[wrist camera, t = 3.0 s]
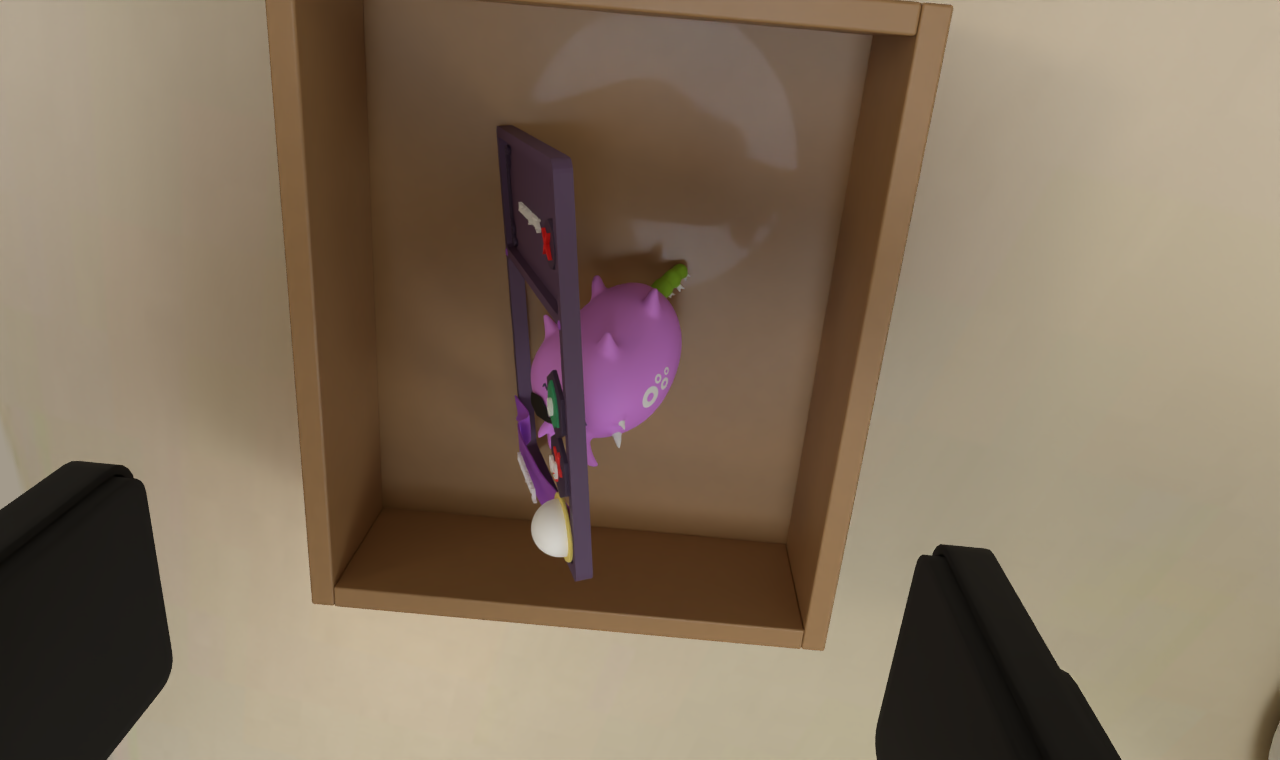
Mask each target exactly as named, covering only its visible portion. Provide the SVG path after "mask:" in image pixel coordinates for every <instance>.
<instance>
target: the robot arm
mask: <svg viewBox="0 0 1280 760" xmlns="http://www.w3.org/2000/svg"><path fill="white" fill-rule="evenodd" d="M172 662H173V657H172V649H171V642H170V636H169V630H168V624H167V618H166V612H165V605H164V599H163V593H162V587H161V581H160V575H159V569H158V562H157V556H156V550H155V544H154V538H153V532H152V525H151V519H150V513H149V507H148V501H147V495H146V490H145V487H144V485H143V483H142V482H141V481H140V480H138V479H134V478H133V474H132V473H131V472H130V470H129V469H128V468H126V467H125V466H123V465H114V464H103V463H93V462H83V461H71V462H69V463H67V464H65V465H63V466H62V467H60V468H59V469H58V470H56V471H55V472H53V473H52V474H51V475H49V476H48V477H46V478H45V479H43V480H42V481H41V482H39V483H38V484H36V485H35V486H34V487H32V488H31V489H29V490H28V491H26V492H25V493H24V494H22V495H21V496H19V497H18V498H17V499H15V500H14V501H12V502H11V503H9V504H8V505H7V506H5V507H4V508H2V509H1V510H0V760H107V758H108V757H109V756H110V755H111V753H112V752H113V751H114V750H115V748H116V747H117V746H118V745H119V743H120V742H121V741H122V740H123V738H124V737H125V736H126V734H127V733H128V732H129V731H130V729H131V728H132V727H133V726H134V724H135V723H136V722H137V721H138V719H139V718H140V717H141V715H142V714H143V713H144V712H145V710H146V709H147V708H148V707H149V705H150V704H151V703H152V702H153V700H154V699H155V698H156V697H157V695H158V694H159V693H160V691H161V690H162V689H163V687H164V686H165V684H166V682H167V680H168V678H169V676H170V672H171V669H172ZM875 746H876V756H877V760H1121V758H1120V756H1119V755H1118V753H1117V751H1116V750H1115V748H1114V746H1113V744H1112V743H1111V741H1110V739H1109V738H1108V736H1107V734H1106V733H1105V731H1104V729H1103V728H1102V726H1101V724H1100V722H1099V721H1098V719H1097V717H1096V716H1095V714H1094V712H1093V711H1092V709H1091V707H1090V706H1089V704H1088V702H1087V700H1086V699H1085V697H1084V695H1083V694H1082V692H1081V690H1080V689H1079V687H1078V685H1077V684H1076V682H1075V681H1074V680H1073V679H1072V677H1071V676H1070V675H1069V673H1067V672H1065V671H1063V670H1061V669H1060V668H1059V666H1058V665H1057V663H1056V661H1055V659H1054V658H1053V656H1052V654H1051V653H1050V651H1049V649H1048V647H1047V646H1046V644H1045V642H1044V640H1043V639H1042V637H1041V635H1040V634H1039V632H1038V630H1037V628H1036V627H1035V625H1034V623H1033V621H1032V620H1031V618H1030V616H1029V615H1028V613H1027V611H1026V609H1025V608H1024V606H1023V604H1022V602H1021V601H1020V599H1019V597H1018V596H1017V594H1016V592H1015V590H1014V589H1013V587H1012V585H1011V583H1010V582H1009V580H1008V578H1007V577H1006V575H1005V573H1004V571H1003V570H1002V568H1001V566H1000V564H999V563H998V561H997V559H996V558H995V556H994V554H993V553H992V552H991V551H990V550H988V549H984V548H974V547H963V546H953V545H943V544H940V545H939V546H937V547H936V549H935V550H934V552H933V555H932V556H930V555H921V556H920V557H919V559H918V561H917V564H916V567H915V571H914V575H913V579H912V583H911V587H910V591H909V595H908V600H907V604H906V608H905V612H904V616H903V620H902V624H901V628H900V632H899V637H898V641H897V645H896V649H895V653H894V657H893V661H892V665H891V669H890V673H889V678H888V682H887V686H886V690H885V694H884V698H883V702H882V706H881V710H880V715H879V719H878V723H877V728H876V737H875Z"/></svg>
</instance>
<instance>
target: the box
mask: <svg viewBox="0 0 1280 760" xmlns="http://www.w3.org/2000/svg"><path fill="white" fill-rule="evenodd" d="M265 2H266V15H267V27H268V40H269V53H270V66H271V79H272V92H273V104H274V117H275V130H276V143H277V156H278V169H279V181H280V194H281V207H282V220H283V233H284V246H285V259H286V271H287V284H288V297H289V310H290V323H291V336H292V348H293V361H294V374H295V387H296V400H297V413H298V426H299V438H300V451H301V464H302V477H303V490H304V503H305V515H306V528H307V541H308V554H309V567H310V580H311V592H312V602H313V603H314V604H322V605H334V604H335V605H336V606H340V607H351V608H362V609H373V610H384V611H395V612H405V613H416V614H427V615H438V616H449V617H460V618H471V619H481V620H492V621H503V622H514V623H525V624H536V625H547V626H558V627H568V628H579V629H590V630H601V631H612V632H623V633H634V634H644V635H655V636H666V637H677V638H688V639H699V640H710V641H721V642H731V643H742V644H753V645H764V646H775V647H786V648H797V649H800V648H801V647H802V649H809V650H820V651H823V650H824V648H825V643H826V638H827V633H828V628H829V623H830V618H831V613H832V608H833V603H834V598H835V593H836V588H837V584H838V579H839V574H840V569H841V564H842V559H843V554H844V549H845V544H846V539H847V534H848V529H849V524H850V519H851V514H852V509H853V504H854V499H855V494H856V489H857V484H858V479H859V474H860V469H861V464H862V459H863V454H864V449H865V444H866V439H867V435H868V430H869V425H870V420H871V415H872V410H873V405H874V400H875V395H876V390H877V385H878V380H879V375H880V370H881V365H882V360H883V355H884V350H885V345H886V340H887V335H888V330H889V325H890V320H891V315H892V310H893V305H894V300H895V295H896V290H897V285H898V281H899V276H900V271H901V266H902V261H903V256H904V251H905V246H906V241H907V236H908V231H909V226H910V221H911V216H912V211H913V206H914V201H915V196H916V191H917V186H918V181H919V176H920V171H921V166H922V161H923V156H924V151H925V146H926V141H927V136H928V132H929V127H930V122H931V117H932V112H933V107H934V102H935V97H936V92H937V87H938V82H939V77H940V72H941V67H942V62H943V57H944V52H945V47H946V42H947V37H948V32H949V27H950V22H951V17H952V12H953V6H952V5H947V4H936V3H919V2H912V1H901V0H265ZM505 125H513V126H515V127H517V128H519V129H520V130H522V131H524V132H526V133H528V134H529V135H531V136H533V137H535V138H537V139H538V140H540V141H542V142H544V143H546V144H547V145H549V146H551V147H553V148H555V149H557V150H558V151H560V152H562V153H564V154H566V155H567V156H569V157H570V158H571V161H572V165H573V177H574V198H575V218H576V239H577V259H578V280H579V300H580V310H581V309H582V308H583V307H584V306H586V305H587V304H588V303H589V302H590V300H591V296H592V280H593V278H594V276H596V275H598V276H600V277H601V279H602V281H603V283H604V285H605V287H606V288H611V287H613V286H616V285H620V284H624V283H642V284H646V285H648V286H651V285H652V284H653V283H654V282H655V281H656V280H657V279H659V278H661V277H662V276H663V275H664V274H665V273H666V271H668V270H670V269H672V268H673V267H674V266H675V265H676V264H683V265H685V266H686V267H687V270H688V274H689V275H690V277H687V280H685V279H684V278H683V279H682V280H681V282H680V284H681V286H682V287H684V288H685V289H681V292H679V291H678V289H677V288H674V289H673V291H672V292H673V293H674V294H675V295H672V296H671V297H672V298H669V297H667V300H668V301H669V302H670V304H671V305H672V307H673V308H674V310H675V312H676V315H677V317H678V320H679V324H680V329H681V337H682V347H681V356H680V361H679V365H678V369H677V372H676V375H675V378H674V380H673V383H672V385H671V387H670V389H669V391H668V393H667V395H666V396H665V398H664V400H663V401H662V403H661V404H660V406H659V407H658V408H657V409H656V410H655V411H654V413H653V414H652V415H651V416H650V417H648V418H647V419H646V420H645V421H644V422H642V423H641V424H639V425H638V426H636V427H635V428H633V429H631V430H629V431H627V432H624V433H622V435H621V445H620V448H618V447H617V445H616V443H615V440H614V438H613V436H610V437H605V438H593V439H592V440H591V442H590V445H591V450H592V453H593V456H594V458H595V460H596V461H597V463H598V466H595V467H593V466H589V465H588V484H589V505H590V525H591V546H592V566H593V578H591V579H586V580H581V581H576V582H575V581H574V578H573V576H572V574H571V571H570V569H569V566H568V564H567V562H566V561H565V559H564V557H554V556H550V555H548V554H546V553H544V552H543V551H541V550H540V549H539V548H538V546H537V545H536V544H535V542H534V540H533V537H532V533H531V523H532V519H533V516H534V514H535V513H536V511H537V510H538V508H539V507H540V506H541V504H540V502H539V500H538V498H537V496H536V500H537V503H535V504H534V503H533V501H532V498H531V497H532V493H530V490H529V488H528V485H527V483H525V480H526V479H525V477H524V475H523V472H522V470H521V467H520V466H521V465H519V462H518V460H517V458H518V454H517V452H520V449H519V437H518V421H517V420H516V417H517V415H518V412H517V406H516V401H515V395H516V396H517V397H518V394H517V381H516V369H515V357H514V344H513V332H512V319H511V307H510V295H509V282H508V270H507V257H506V245H505V233H504V220H503V208H502V195H501V183H500V171H499V158H498V146H497V133H496V129H497V126H505ZM525 292H526V305H527V319H528V333H529V346H530V360H531V367H532V363H533V360H534V357H535V355H536V353H537V351H538V349H539V348H540V346H541V344H542V343H543V341H544V339H545V326H544V315H548V316H549V317H550V318H551V319H552V317H551V316H550V314H549V313H548V311H547V310H546V309H545V307H544V306H543V304H542V303H541V302H540V300H539V299H538V297H537V296H536V295H535V293H534V292H533V290H532V289H531V287H530V286H529V285H528V283H527V282H526V280H525ZM552 320H553V319H552ZM553 321H554V320H553ZM554 322H555V321H554ZM534 415H535V428H536V441H537V445H538V447H539V449H540V452H541V454H542V456H543V458H544V460H545V463H546V465H547V467H548V469H549V471H550V474H551V476H552V478H553V472H552V473H551V470H550V463H549V455H552V451H551V449H550V447H549V445H548V437H547V434H545V435H544V436H542V437H540V438H539V437H538V431H539V429H540V427H541V425H542V424H543V423H544V420H543V419H541V418H540V417H538V416H537V415H536V413H535V411H534ZM562 440H563V444H564V448H565V451H566V438H565V436H564V437H562ZM553 480H554V479H553ZM554 483H555V485H556V487H557V484H556V481H555V480H554ZM557 489H558V488H557ZM564 500H565V502H566V503H567V505H568V506H569V497H564ZM569 507H570V506H569Z"/></svg>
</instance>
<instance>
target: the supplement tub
mask: <svg viewBox="0 0 1280 760" xmlns="http://www.w3.org/2000/svg"><path fill="white" fill-rule="evenodd" d="M1268 760H1280V722H1279V725H1278V727H1277V729H1276V732H1275V734H1274V737H1273V740H1272V744H1271V748H1270V752H1269V758H1268Z"/></svg>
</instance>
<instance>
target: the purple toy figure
mask: <svg viewBox="0 0 1280 760" xmlns="http://www.w3.org/2000/svg"><path fill="white" fill-rule="evenodd" d="M496 133H497V146H498V158H499V171H500V183H501V195H502V208H503V220H504V233H505V245H506V257H507V270H508V282H509V295H510V307H511V319H512V332H513V344H514V357H515V369H516V381H517V394H518V397H517V396H516V395H515V401H516V406H517V412H518V415H517V417H516V420H517V421H518V437H519V449H520V452H517V454H518V458H517V460H518V462H519V465H521V466H520V467H521V470H522V472H523V475H524V477H525V479H526V480H525V483H527V485H528V488H529V490H530V493H532V497H531V498H532V501H533V503H534V504H535V503H537V500H536V496H537V498H538V500H539V502H540V504H541V506H540V507H539V508H538V510H537V511H536V513H535V514H534V516H533V519H532V523H531V533H532V537H533V540H534V542H535V544H536V545H537V546H538V548H539V549H540V550H541V551H543V552H544V553H546V554H548V555H550V556H554V557H564V559H565V561H566V562H567V564H568V566H569V569H570V571H571V574H572V576H573V578H574V581H575V582H576V581H581V580H586V579H591V578H593V566H592V546H591V525H590V505H589V484H588V465H589V466H593V467H595V466H598V463H597V461H596V460H595V458H594V456H593V453H592V450H591V445H590V442H591V440H592V439H593V438H605V437H610V436H613V438H614V440H615V443H616V445H617V447H618V448H620V445H621V435H622V433H624V432H627V431H629V430H631V429H633V428H635V427H636V426H638V425H639V424H641V423H642V422H644V421H645V420H646V419H647V418H648V417H650V416H651V415H652V414H653V413H654V411H655V410H656V409H657V408H658V407H659V406H660V404H661V403H662V401H663V400H664V398H665V396H666V395H667V393H668V391H669V389H670V387H671V385H672V383H673V380H674V378H675V375H676V372H677V369H678V365H679V361H680V356H681V347H682V337H681V329H680V324H679V320H678V317H677V315H676V312H675V310H674V308H673V307H672V305H671V304H670V302H669V301H668V300H667V297H669V298H672V297H671V296H672V295H675V294H674V293H673V292H672V291H673V289H674V288H677V289H678V291H679V292H681V289H685V288H684V287H682V286H681V284H680V282H681V280H682V279H683V278H684V279H685V280H687V277H690V275H689V274H688V270H687V267H686V266H685V265H683V264H676V265H675V266H674V267H673V268H672V269H670V270H668V271H666V273H665V274H664V275H663V276H662V277H661V278H659V279H657V280H656V281H655V282H654V283H653V284H652V285H651V286H648V285H646V284H642V283H624V284H620V285H616V286H613V287H611V288H606V287H605V285H604V283H603V281H602V279H601V277H600V276H598V275H596V276H594V278H593V280H592V296H591V300H590V302H589V303H588V304H587V305H586V306H584V307H583V308H582V309H581V310H580V300H579V280H578V259H577V239H576V218H575V198H574V177H573V165H572V161H571V158H570V157H569V156H567V155H566V154H564V153H562V152H560V151H558V150H557V149H555V148H553V147H551V146H549V145H547V144H546V143H544V142H542V141H540V140H538V139H537V138H535V137H533V136H531V135H529V134H528V133H526V132H524V131H522V130H520V129H519V128H517V127H515V126H513V125H505V126H497V129H496ZM525 280H526V282H527V283H528V285H529V286H530V287H531V289H532V290H533V292H534V293H535V295H536V296H537V297H538V299H539V300H540V302H541V303H542V304H543V306H544V307H545V309H546V310H547V311H548V313H549V314H550V316H551V317H552V319H553V320H554V321H555V322H554V321H553V320H552V319H551V318H550V317H549V316H548V315H544V326H545V339H544V341H543V343H542V344H541V346H540V348H539V349H538V351H537V353H536V355H535V357H534V360H533V363H532V367H531V360H530V346H529V333H528V319H527V305H526V292H525ZM534 411H535V413H536V415H537V416H538V417H540V418H541V419H543V420H544V423H543V424H542V425H541V427H540V429H539V431H538V437H539V438H540V437H542V436H544V435H545V434H547V437H548V445H549V447H550V449H551V451H552V455H549V463H550V470H551V473H552V472H553V478H552V476H551V474H550V471H549V469H548V467H547V465H546V463H545V460H544V458H543V456H542V454H541V452H540V449H539V447H538V445H537V441H536V428H535V415H534ZM564 436H565V438H566V451H565V448H564V444H563V440H562V437H564ZM553 479H554V480H555V481H556V484H557V487H556V485H555V483H554V480H553ZM557 488H558V489H557ZM564 497H569V506H570V507H569V506H568V505H567V503H566V502H565V500H564Z"/></svg>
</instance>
